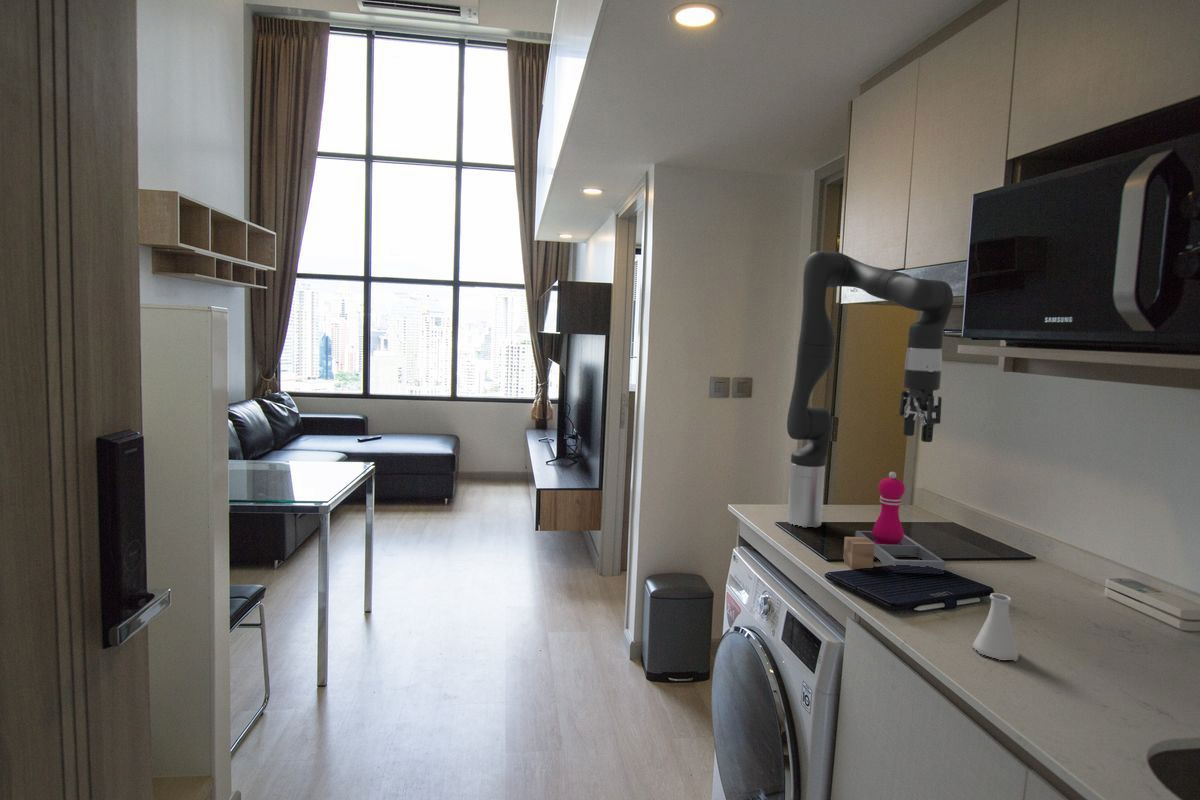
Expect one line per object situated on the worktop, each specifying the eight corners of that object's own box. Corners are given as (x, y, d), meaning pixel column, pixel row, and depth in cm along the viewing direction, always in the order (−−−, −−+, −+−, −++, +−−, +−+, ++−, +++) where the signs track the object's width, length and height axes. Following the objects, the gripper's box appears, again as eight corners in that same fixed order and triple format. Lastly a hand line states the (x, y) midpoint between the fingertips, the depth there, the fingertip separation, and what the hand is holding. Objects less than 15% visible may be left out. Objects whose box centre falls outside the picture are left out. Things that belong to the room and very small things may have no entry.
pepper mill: (872, 552, 166) (878, 473, 164) (870, 543, 173) (875, 467, 171) (904, 556, 164) (910, 476, 162) (900, 547, 171) (906, 470, 169)
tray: (854, 541, 174) (855, 530, 174) (898, 542, 174) (899, 531, 174) (893, 573, 152) (894, 560, 152) (944, 574, 152) (945, 561, 152)
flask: (1024, 666, 111) (1030, 608, 110) (975, 657, 113) (980, 600, 112) (1014, 647, 118) (1020, 592, 116) (968, 639, 120) (973, 585, 119)
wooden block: (842, 561, 159) (844, 536, 159) (863, 561, 160) (865, 537, 159) (851, 568, 154) (852, 543, 154) (872, 569, 155) (874, 544, 154)
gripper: (892, 366, 160) (887, 433, 162) (922, 369, 146) (916, 443, 147) (923, 367, 160) (918, 434, 162) (956, 370, 146) (949, 444, 148)
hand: (917, 438), depth 155 cm, fingers open, 8 cm apart
